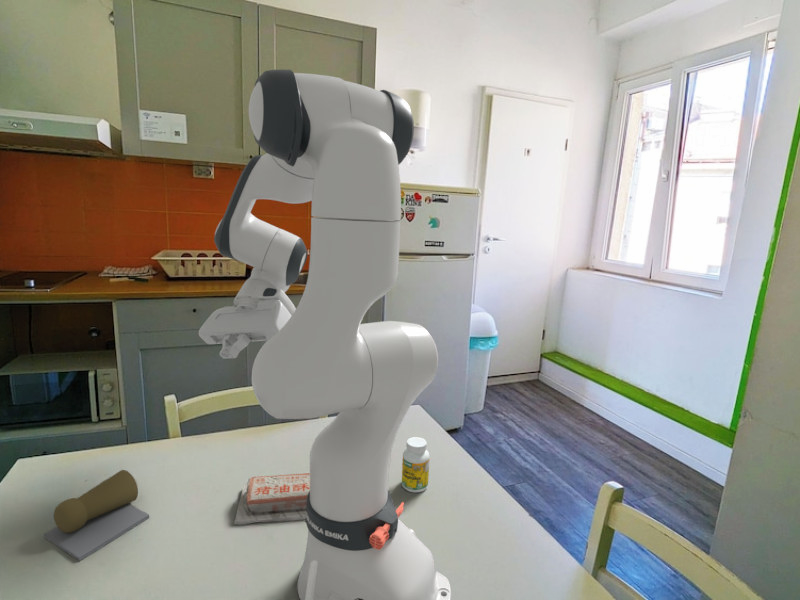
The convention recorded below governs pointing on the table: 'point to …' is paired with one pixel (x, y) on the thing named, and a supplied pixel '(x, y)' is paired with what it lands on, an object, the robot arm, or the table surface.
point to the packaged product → (274, 498)
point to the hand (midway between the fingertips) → (227, 356)
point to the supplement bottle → (415, 465)
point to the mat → (97, 531)
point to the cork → (96, 501)
